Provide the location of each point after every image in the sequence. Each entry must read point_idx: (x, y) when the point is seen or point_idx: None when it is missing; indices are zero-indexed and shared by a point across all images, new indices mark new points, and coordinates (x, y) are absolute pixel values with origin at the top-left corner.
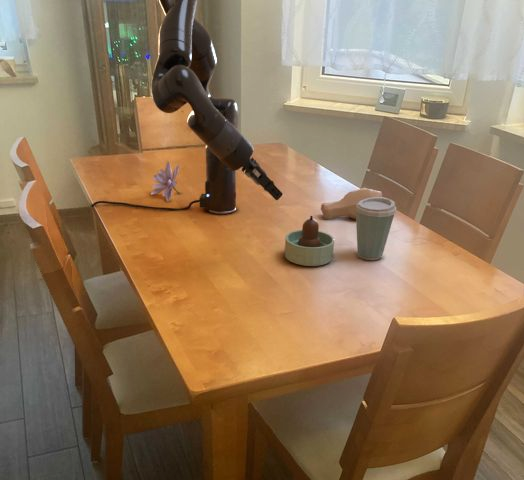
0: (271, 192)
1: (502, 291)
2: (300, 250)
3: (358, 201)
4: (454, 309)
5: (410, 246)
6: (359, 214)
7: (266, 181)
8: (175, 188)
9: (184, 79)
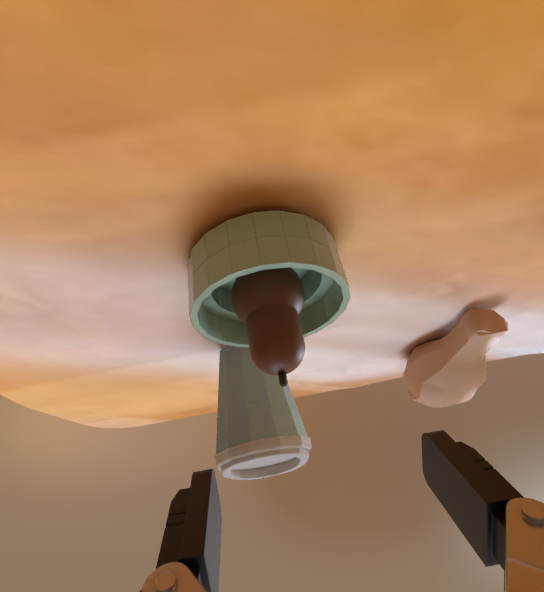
0: (161, 551)
1: (102, 421)
2: (202, 280)
3: (440, 379)
4: (12, 397)
5: None
6: (252, 436)
7: (443, 493)
8: None
9: None
